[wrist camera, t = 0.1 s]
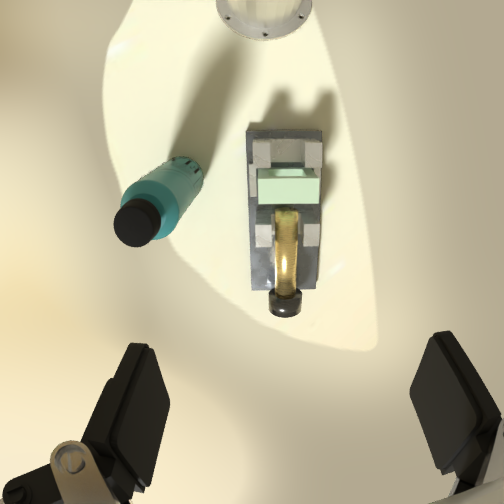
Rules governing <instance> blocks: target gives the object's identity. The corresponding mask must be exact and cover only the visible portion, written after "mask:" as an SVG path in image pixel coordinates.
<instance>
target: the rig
mask: <svg viewBox="0 0 504 504" xmlns="http://www.w3.org/2000/svg"><path fill="white" fill-rule="evenodd" d="M246 153H247V180H248V206H249V233H250V258H251V284H252V290H271V289H272V288H274V287H275V210H276V209H277V208H282V207H291V208H295V209H297V210H298V247H297V277H296V288H298V289H316V275H317V260H318V246H319V237H320V200H321V168H322V131H320V130H253V131H246ZM271 167H305V168H311V169H312V170H313V171H314V172H315V174H316V175H317V176H318V177H319V204H259V202H258V168H271Z"/></svg>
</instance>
